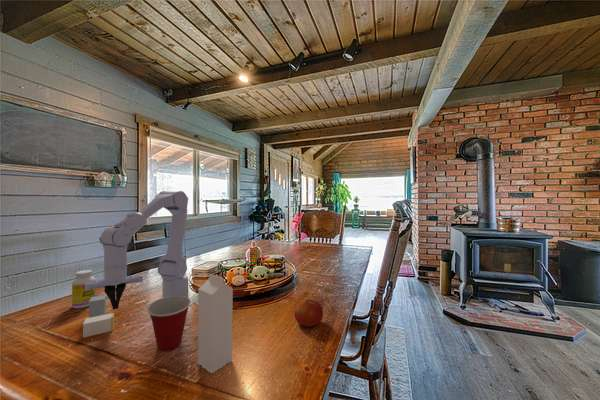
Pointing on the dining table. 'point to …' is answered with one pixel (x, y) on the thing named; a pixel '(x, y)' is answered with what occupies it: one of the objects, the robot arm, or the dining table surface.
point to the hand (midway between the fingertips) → (115, 307)
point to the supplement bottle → (82, 289)
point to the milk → (214, 324)
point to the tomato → (308, 313)
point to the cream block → (98, 325)
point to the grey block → (97, 306)
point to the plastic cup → (169, 320)
